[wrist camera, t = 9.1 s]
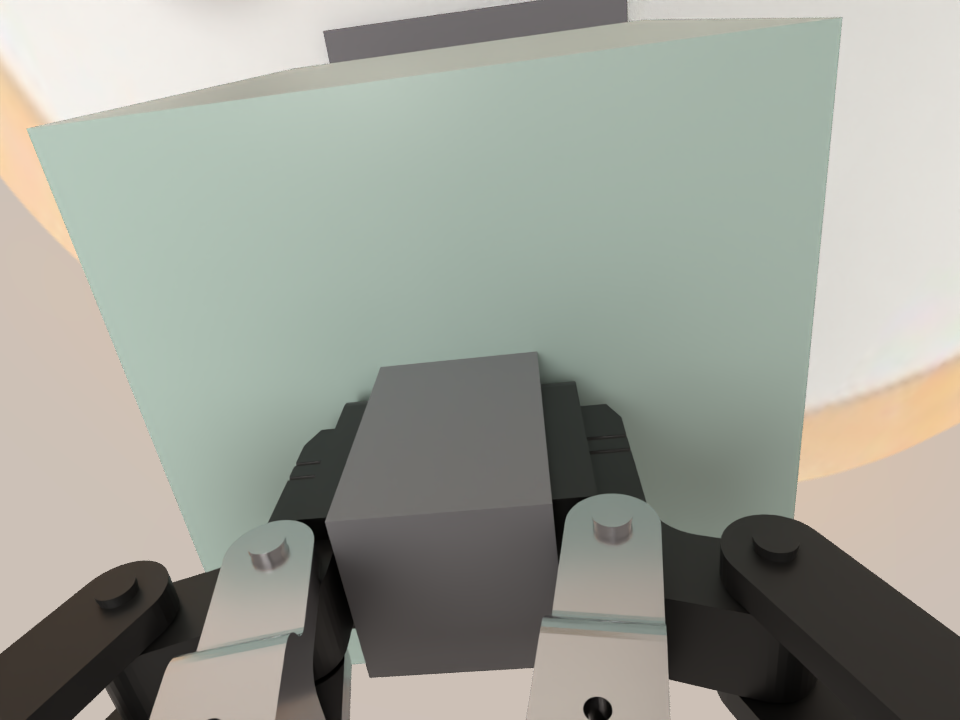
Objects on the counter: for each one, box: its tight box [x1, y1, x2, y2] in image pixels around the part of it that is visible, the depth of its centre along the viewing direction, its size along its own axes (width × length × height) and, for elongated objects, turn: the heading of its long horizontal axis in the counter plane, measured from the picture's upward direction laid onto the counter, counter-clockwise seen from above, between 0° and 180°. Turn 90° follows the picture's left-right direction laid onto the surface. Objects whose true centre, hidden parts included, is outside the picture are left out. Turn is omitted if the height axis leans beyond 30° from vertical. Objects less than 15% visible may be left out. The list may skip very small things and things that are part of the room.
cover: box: [27, 17, 842, 678], centre depth 19 cm, size 13×13×20 cm
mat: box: [323, 0, 627, 63], centre depth 39 cm, size 16×16×1 cm
